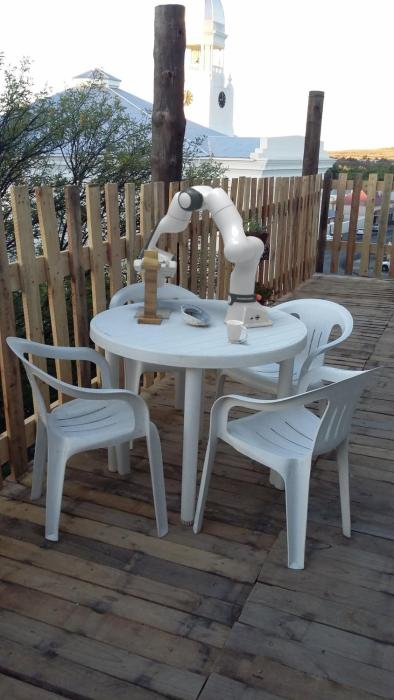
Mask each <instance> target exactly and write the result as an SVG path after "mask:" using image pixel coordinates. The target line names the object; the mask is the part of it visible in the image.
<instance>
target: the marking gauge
mask: <svg viewBox="0 0 394 700" xmlns="http://www.w3.org/2000/svg"><path fill="white" fill-rule="evenodd" d="M158 251H159V250H144V265H158Z"/></svg>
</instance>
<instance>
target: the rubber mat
mask: <svg viewBox="0 0 394 700" xmlns="http://www.w3.org/2000/svg"><path fill="white" fill-rule="evenodd" d="M171 308H172V307H160V306H156V315H162V320H169V319H170V315H171V313H170V312H172V309H171ZM140 314H144V306H143V305H141V306H138V309H137V310H136V311H135V314H134V316H133V318H135V319H138V318H139V316H140Z"/></svg>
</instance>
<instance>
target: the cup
mask: <svg viewBox="0 0 394 700" xmlns="http://www.w3.org/2000/svg"><path fill="white" fill-rule="evenodd" d="M225 326H226V334H227V339H228V341H227V342H228V343H231V344H240V343H243V342H245V341H246V340H247V339H248V337H249V333H248V328H245V327H243V322H241V321H235V320H232V321H227V322H226V323H225ZM243 329H244V331H245V338H244V339H243V340H241V341H239V340H240V338H241V335H242V332H243Z"/></svg>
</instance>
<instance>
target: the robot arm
mask: <svg viewBox="0 0 394 700" xmlns="http://www.w3.org/2000/svg"><path fill="white" fill-rule="evenodd" d="M205 210H208V212H209V213H210V215H211V217H212V218H213V222H215V225H216V227H217V228H218V230H219V232H220V235H221V237H222V240H223V241H222V242H223V245H224V246H223V247H224V248H223V254H224V257H225V259H226V261H228V262H229V263H233V264H235V265H234V268H233V270H232V272H230V278H229V279H230V280H229V291H228V293H227V294H228V295H227V311H226V314H225V317H224V321H223V322H224V324H226V322H227V321H232V320H235V321H241V322H243V327H245V328H246V329H249V328H259V327H261V328H262V327H269V326H274V322H273V320H271V319H269V312H268V310H267V309H266V308H265V307H264V306H263V305H262V304H261V303H260V302H258V300H259V301H260V300H261V299H262V296H261V295H260V294H256V293H255V284H256V275H257V272H258V271H257V270H258V268H259V264H260V260H261V257H262V255H263V254H264V252H265V244H264V242H263V241H262V239H260V238H259V237H256V236H251V235H249V236H247V235H246V234H245V231H244V227H243V223H244V220H243V218H242V216H241V215H240V213H239V211H238V209H237V208H236V205H235V204H234V202H233V201H232V199H231V197H230V196H229V195H228V193H227V192H226V191H225V190H224V189H223V188H221V187H215V186H213V185H211V184H210V185H209V184H206V185H194V186H187V187H185V188H184V189H182V190H181V191H178V192H176V193H175V194H174V196H173V198H172V199H171V202H170V204H169V205H168V209H167V213H166V215H165V216H164V217H160V218H159V219H158V221H157V222H156V223H155V225H154V227H153V229H152V231H151V233H150V235H149V237H148V239H147V241H146V244H145V245H144V247H143V248H142V249H141V252H140V255H139V258H140V259H134V260H133V268H134V271H136V272H138V273H145V269H141V264H142V263H143V262H144V250H159V251H158V263H161V269H160V270H157V289H161V288H164V287H165V285H166V283H167V280H168V279H172V278H174V277H175V274H176V272H177V267H178V266H177V265H178V264H177V263H178V261H177V257H176V255H174V254H172V253H170V252H169V251H164V250H163V249H161V248H159V247H157V246H156V244H157V242H158V240H159V238H160V236H161V234H166V233H169V234H175V233H176V234H177V233H180V232H183V231H185V229H187V227H188V225H189V222H190V220H191V217H192V214H193V212H201V211H205Z"/></svg>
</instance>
